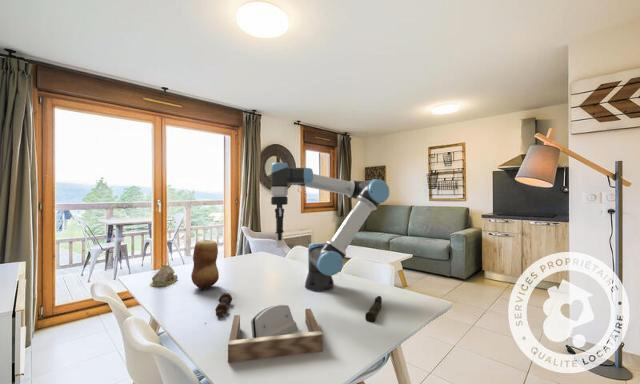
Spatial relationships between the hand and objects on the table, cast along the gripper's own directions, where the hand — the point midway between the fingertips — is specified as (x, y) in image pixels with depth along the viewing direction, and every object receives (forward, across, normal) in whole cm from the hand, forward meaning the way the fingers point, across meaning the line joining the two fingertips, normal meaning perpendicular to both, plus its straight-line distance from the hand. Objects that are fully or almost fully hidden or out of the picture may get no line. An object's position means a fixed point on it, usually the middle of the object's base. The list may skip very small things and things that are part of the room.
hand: (279, 247), depth 131 cm
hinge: (+25, +31, -4) cm, 40 cm away
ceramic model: (+25, -41, -61) cm, 77 cm away
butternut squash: (+25, -26, -37) cm, 51 cm away
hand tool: (+25, +22, +37) cm, 50 cm away
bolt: (+25, +7, -24) cm, 35 cm away
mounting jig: (+24, +35, -4) cm, 43 cm away
